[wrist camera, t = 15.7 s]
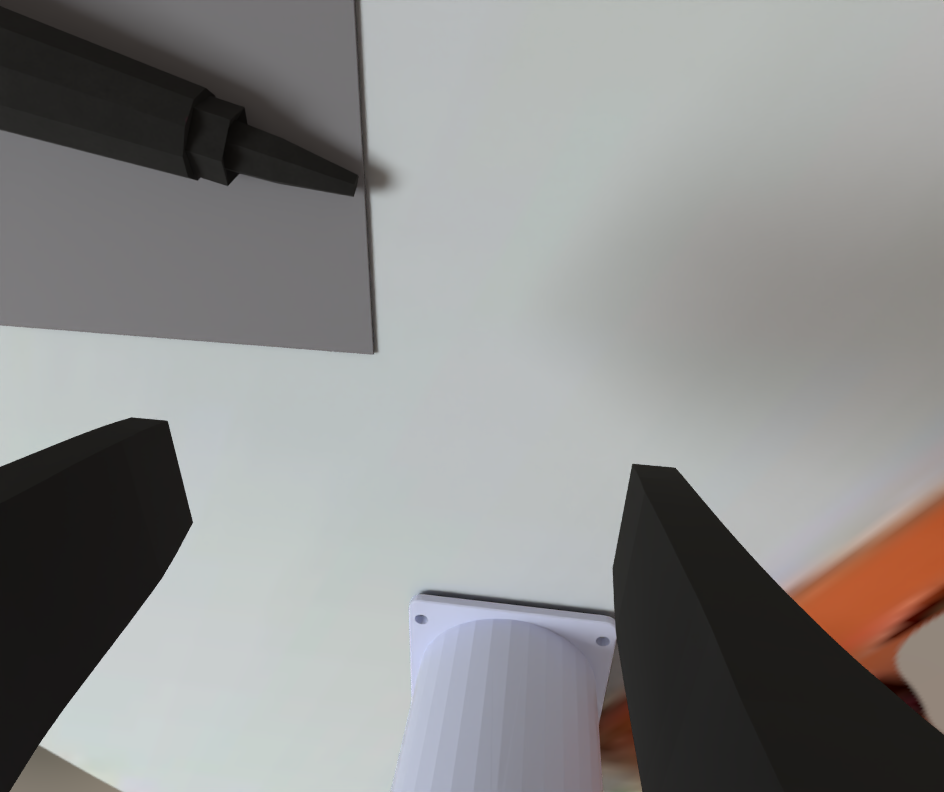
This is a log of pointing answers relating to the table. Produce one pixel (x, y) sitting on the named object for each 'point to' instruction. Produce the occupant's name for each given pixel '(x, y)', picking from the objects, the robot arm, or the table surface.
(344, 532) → the table surface
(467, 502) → the table surface
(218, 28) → the charcoal mat
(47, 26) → the microphone
